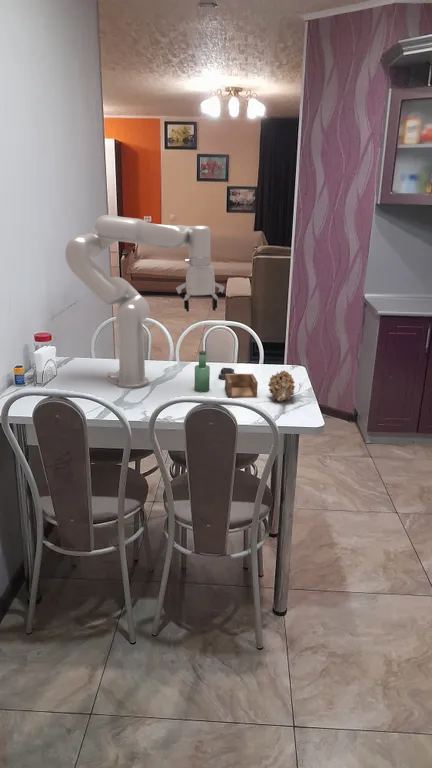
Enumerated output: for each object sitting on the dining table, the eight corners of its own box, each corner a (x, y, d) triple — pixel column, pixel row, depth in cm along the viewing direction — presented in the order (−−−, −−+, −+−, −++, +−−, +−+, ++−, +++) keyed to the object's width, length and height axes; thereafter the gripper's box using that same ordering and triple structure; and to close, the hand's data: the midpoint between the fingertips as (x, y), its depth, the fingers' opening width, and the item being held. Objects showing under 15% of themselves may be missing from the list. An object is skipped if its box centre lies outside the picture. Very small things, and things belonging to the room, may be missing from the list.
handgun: (259, 375, 227) (255, 384, 216) (221, 372, 230) (216, 380, 219) (259, 370, 226) (256, 379, 215) (221, 366, 229) (216, 375, 218)
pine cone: (266, 391, 205) (267, 366, 202) (292, 392, 205) (294, 367, 202) (269, 413, 184) (271, 385, 181) (298, 414, 184) (300, 386, 181)
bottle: (194, 392, 203) (195, 353, 198) (193, 387, 208) (194, 349, 203) (210, 392, 203) (210, 353, 199) (208, 387, 209) (209, 349, 204)
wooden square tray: (228, 397, 198) (228, 382, 196) (224, 388, 208) (225, 373, 206) (256, 397, 199) (257, 382, 197) (252, 388, 209) (252, 373, 207)
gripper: (176, 263, 189) (177, 313, 194) (225, 262, 191) (226, 311, 196) (174, 261, 196) (176, 309, 201) (222, 260, 198) (222, 308, 203)
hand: (200, 310), depth 199 cm, fingers open, 9 cm apart
